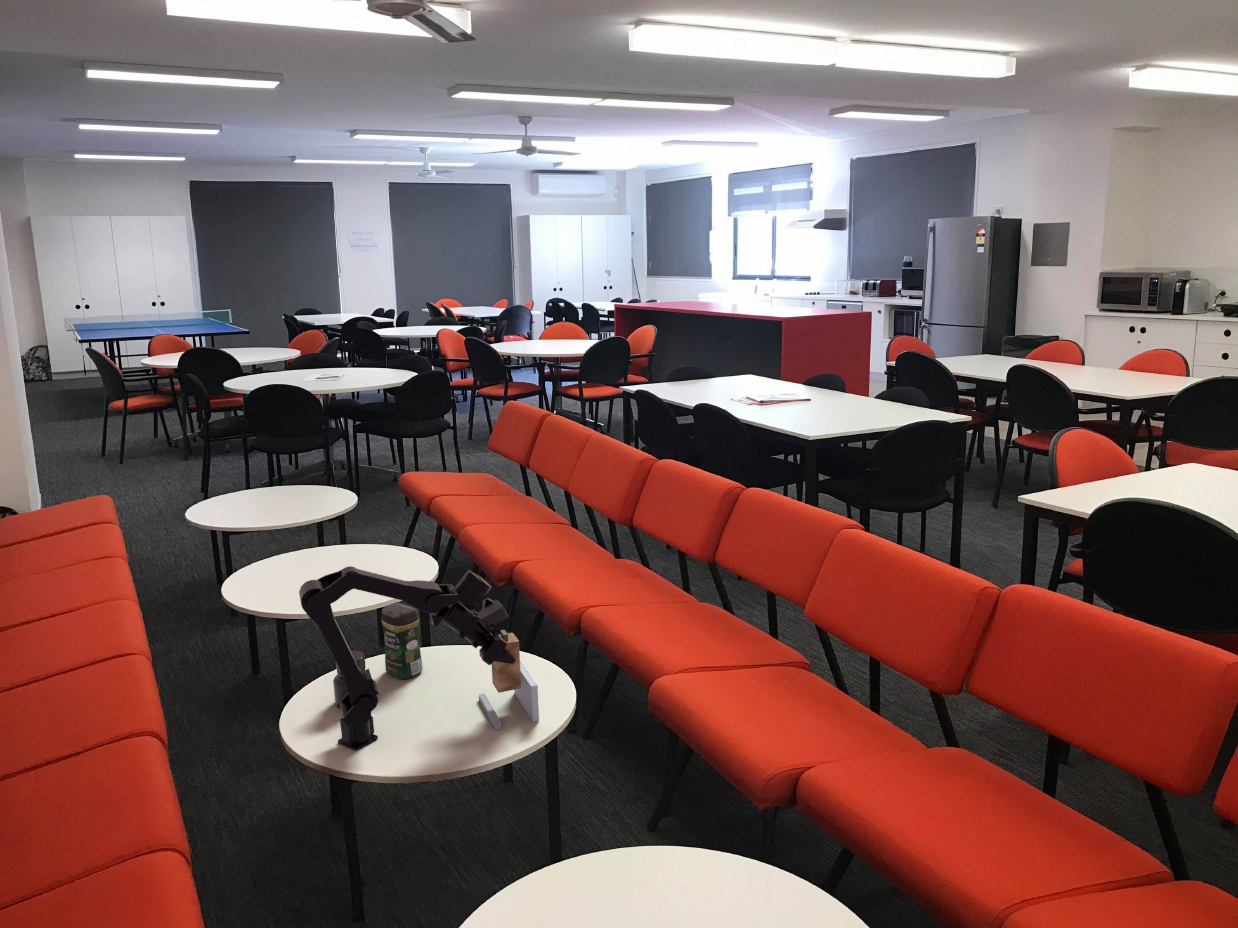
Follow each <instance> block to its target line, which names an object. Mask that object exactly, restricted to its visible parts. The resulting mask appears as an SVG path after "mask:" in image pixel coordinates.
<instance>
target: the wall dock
mask: <svg viewBox="0 0 1238 928" xmlns="http://www.w3.org/2000/svg"><path fill="white" fill-rule="evenodd" d="M520 674H521V689H516V690H513V691H514V695H515V696H516V697H517V700H518V701H519V702H520V705H522V707H523V708H524V710H525V711H526V714H527V715H528V717H529V718H530V720H531V721H532V722H533V723H534V722H539V721H540V712H539V711H540V707H539V690H538V689H539V688H538V687H539V686H538V684H537V682H536V681H535V680H534V678H533V677H532V676H531V674H530V672H529V671H528V669H527V668H526V667H525V665H524V664H523V662H522V661H521V660H520ZM478 701H479V702H480V704H481V706H482V708H483V710H484V712H485V714H486V716H487V717H488V719H489V721H490V723H491V725H492V727H493V728H494V730H495V731H496V730H497V731H498V730H501V729H502V728H503V727H502V721H501V720H500V718H499V716H498V715H497V712H496V711H495V709H494V707H493V705H492V704H491V702H490V701H489V698H488V696H487V695H486V694H485V692H484V693H480V694H478Z"/></svg>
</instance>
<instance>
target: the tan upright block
mask: <svg viewBox="0 0 1238 928" xmlns="http://www.w3.org/2000/svg"><path fill="white" fill-rule="evenodd" d="M498 635H499V636H500V637H503V639H504V640H505V642H506V643H507V646H506V650H507V651H508V652H509V653H510V654H511V655H512V656H513V657H514V659H515V660H516V661H515V662H514V663H513V664H511V663H504V662H497V661H494V662H493V663H492V664H491V676H492V678H491V680H492V681H491V682H492V684H493V686H494V688H495V689H496V691H497V693H499V694H500V693H504V692H510V691H514V690H516V689H521V674H520V661H521V656H520V655H521V654H520V640H519V639H518V637H516V635H515V634H514V633H513V632H509V633H508V632H507V631H506V630H505V629H501V630H500V634H498Z"/></svg>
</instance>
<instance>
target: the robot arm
mask: <svg viewBox="0 0 1238 928" xmlns="http://www.w3.org/2000/svg"><path fill="white" fill-rule="evenodd" d="M491 589H492V585H491V584H489V582H488V581H486V580H485V579H484V578H482V577H481V576H480V575H479V574H476V573H474V572H473V571H471V570H470V569H467V570H466V571H465V573H464V574H463V576H462V577H461V579H460V580H458V582H457V583H456V585H453V584H451V583H446V584H444V583H442V584H441V583H439V584H438V583H437V582H435V581H431V580H419V579H418V580H404V579H399V578H395V577H391V576H387V575H383V574H379V573H375V572H372V571H367V570H363V569H360V568H356V567H355V566H345V567H344V568H342V569H339V570H338V571H335V572H332V573H329V574H326V575H323V576H322V577H319V578H318V579H309V580H307V581H305V582H304V583H303V584H302V585H301V586H300V588H299V591H298V594H299V595H298V596H299V600H300V606H301V608H302V610H303V611H304V612H305V613H306V615H307V616H308V617H309V619H310V620H311V621H312V622H313V623H314V624H315V625H316V626H317V627H318V629H319V630H320V633H321V634H322V636H323V639H324V641H325V643H326V645H327V646H328V649H329V650H330V652H331V654H332V656H333V659H334V661H335V664H336V663H337V665H338V667H339V669H340V671H341V673H342V675H343V677H344V679H345V682H346V686H347V690H348V693H347V694H346V695H345V697H344V698H343V699H342V700H341V701H340V706H341V708H340V710H341V714H342V717H341V718H340V719H339V722H340V731H341V732H340V734H341V738H339V739H337V743H338V744H340V745H343V746H345V747H348V748H349V749H352V750H354V751H357V750H360V749H361V748H363V747H365V746H367V745H368V744H370V743H373V742H374V741H376V740H378V739H379V737H378V735H376V734H375V727H374V726H375V725H374V724H375V723H374V717H373V716H372V711H374V710H375V709H376V707H377V705H378V703H379V698H378V695H380V691H379V689H378V686H377V683H376V681H375V680H374V679H373V677H372V674H371V671H370V668H367V669H365V671H364V672H363V671H362V670H361V669H360V668H359V666H358V665H357V663H356V661H355V659H354V657H353V655H352V653H351V651H352V650H351V648H350V646H349V644H348V643H347V640H346V639H345V636H344V634H343V633H342V630H341V627H339V625H338V623H337V620H336V618H335V616H334V613H333V609H332V604H334V603H335V602H337V601H338V600H340V599H341V598H342V597H344V596H345V595H346V594H347V593H348V592H350V591H353V590H357V591H361V592H365V593H370V594H375V595H378V596H382V597H386V598H390V599H393V600H394V599H395V600H399V601H403V602H405V603H407V604H409V605H410V606H411V607H413V608H415V609H417V610H420V611H423V612H425V613H427V614H429V615H430V623H431V624H432V626H433V628H437V627H438V626H439V625H440V623H441V622H442V623H443V624H444V625H446V626H447V627H449V629H451V630H453V631H454V632H456V633H457V634H458V636H459V637H460V638H461V639H462V640H463V639H465V640H466V641H468V643H470V644H471V645H472V647H473V648H474V649H477V648H478V647H480V649H479V651H478V653H479V657H480V658H481V660H482V661H483V662H484V663H485V664H486V665H488V666H492V663H493V662H494V661H497V662H504V663H511V664H513V663H514V662H515V661H516V660H515V659H514V657H513V656H512V655H511V654H510V653H509V652H508V651H507V650H506V646H507V643H506V642H505V640H504V639H503V637H500V636H499V635H500V634H498V633H497V634H496V629H495V628H496V627H495V626H496V625H497V624H499V623H501V622H502V621H505V620H507V619H508V618H509V614H508V613H507V611H506V609H505V608H504V606H503V604H502V602H500V601H499V600H497V599H494V600H493V599H491V598H489V597H486V598H485V596H486V595H487V594H488V593H489V591H490V590H491ZM483 598H485V599H483ZM459 601H460V602H461V603H460V602H459ZM481 601H482V607H481V610H480V611H478V612H477V611H476V610H472V609H471V610H469V609H468V608H470V607H471V608H474V607H477V606H478V604H480V602H481ZM465 606H467V607H468V608H467V607H465Z"/></svg>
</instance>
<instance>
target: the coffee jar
mask: <svg viewBox="0 0 1238 928" xmlns="http://www.w3.org/2000/svg"><path fill="white" fill-rule="evenodd" d="M380 618H381V619H380V620H381V625H382V629H383V635H384V637H383V638H384V664H385V665H384V667H385V671H386V673H387V674H389V675H390V676H393V677H395V678H397V679H401V680H405V679H410V678H414V677H416V676H418V675H419V674H421V673H422V672H423V669H424V668H423V660H422V654H421V645H420V637H419V623H420V619H419V618H420V617H419V613H418V608H415V607H413V606H411V605H410V606H409V605H406V604H403V603H399V602H398V601H397V602H392V603H390V604H386V605H384V606H383V607H382V609H381V617H380Z"/></svg>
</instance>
